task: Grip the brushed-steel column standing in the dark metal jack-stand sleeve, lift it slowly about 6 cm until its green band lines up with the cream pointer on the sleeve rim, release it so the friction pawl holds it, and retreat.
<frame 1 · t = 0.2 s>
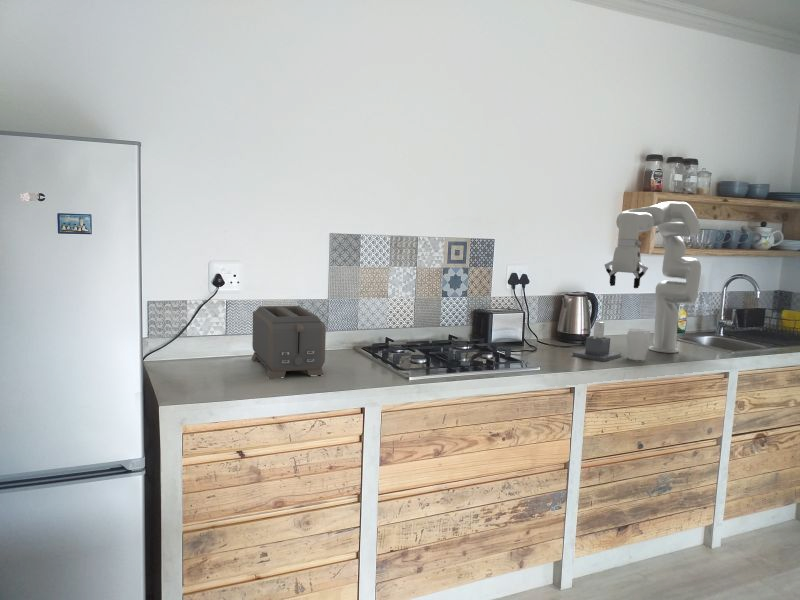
hand: (624, 286, 259), 31 cm above the counter, fingers open, 9 cm apart
stand base: (596, 356, 275), on the counter
toaster: (287, 369, 231), on the counter
column: (598, 337, 274), point 8 cm above the counter, slide at 0.0 cm
cup: (636, 359, 273), on the counter
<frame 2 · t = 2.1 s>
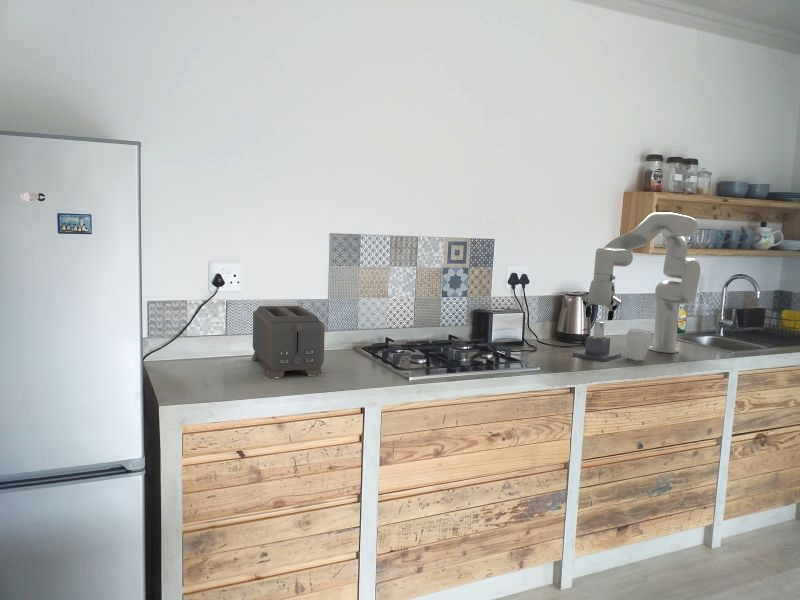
hand: (599, 318, 273), 16 cm above the counter, fingers open, 9 cm apart
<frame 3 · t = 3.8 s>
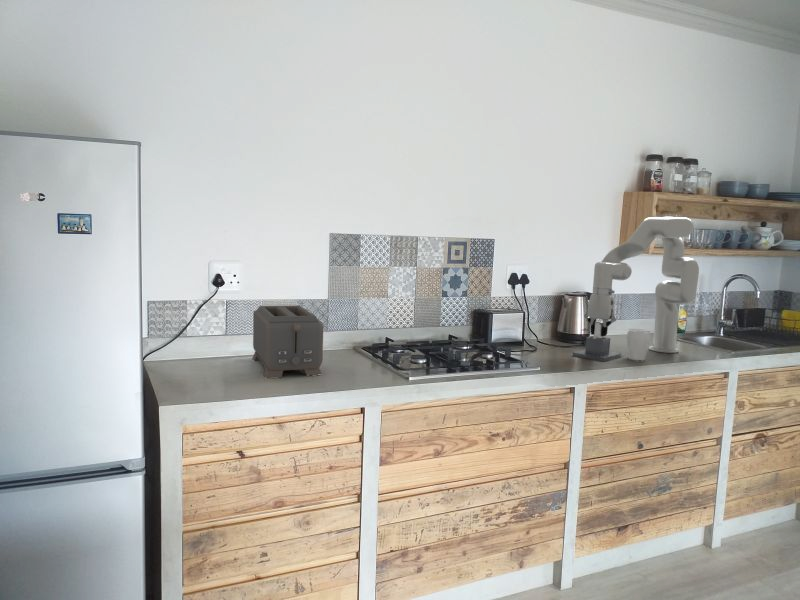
hand: (598, 334, 274), 9 cm above the counter, fingers closed on column, 4 cm apart
column: (598, 337, 274), point 8 cm above the counter, slide at 0.0 cm, touching gripper
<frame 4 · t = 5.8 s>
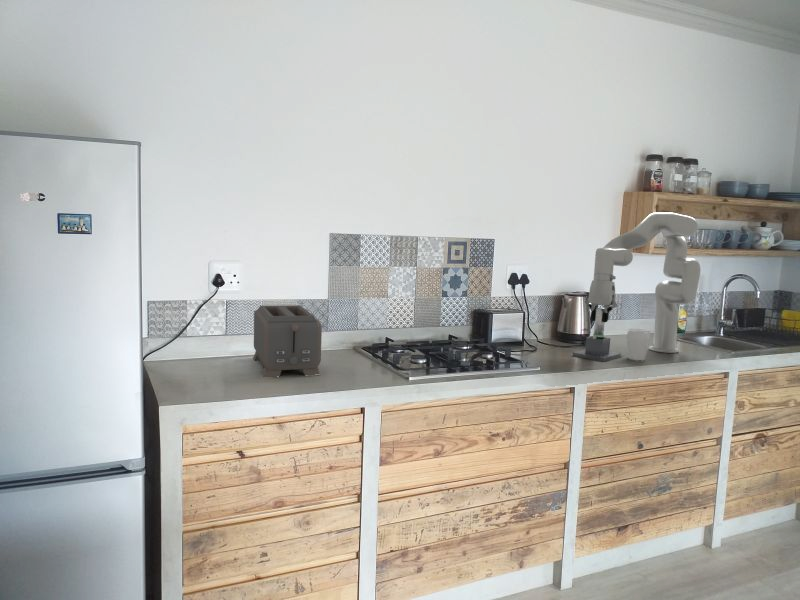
hand: (599, 320, 273), 15 cm above the counter, fingers closed on column, 4 cm apart
column: (599, 323, 273), point 14 cm above the counter, slide at 5.9 cm, touching gripper
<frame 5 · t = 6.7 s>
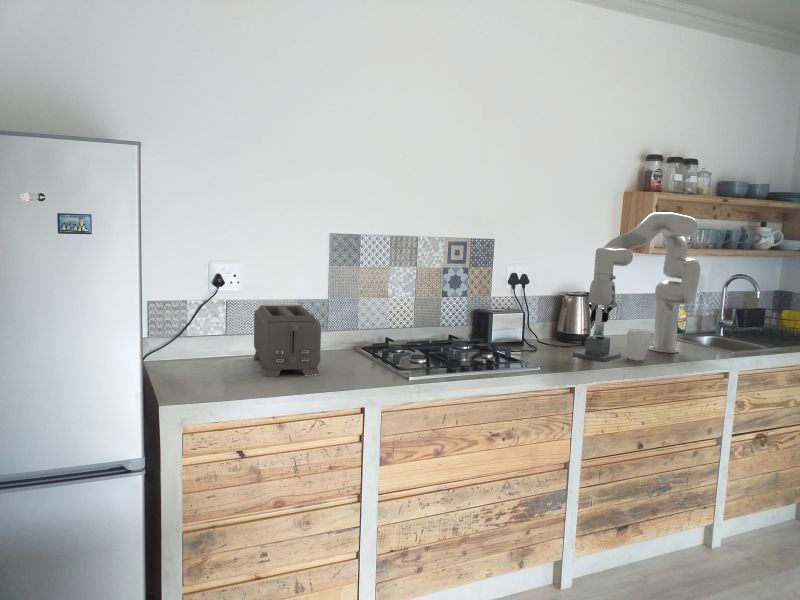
hand: (599, 320, 273), 15 cm above the counter, fingers closed on column, 4 cm apart
column: (599, 323, 273), point 14 cm above the counter, slide at 5.9 cm, touching gripper
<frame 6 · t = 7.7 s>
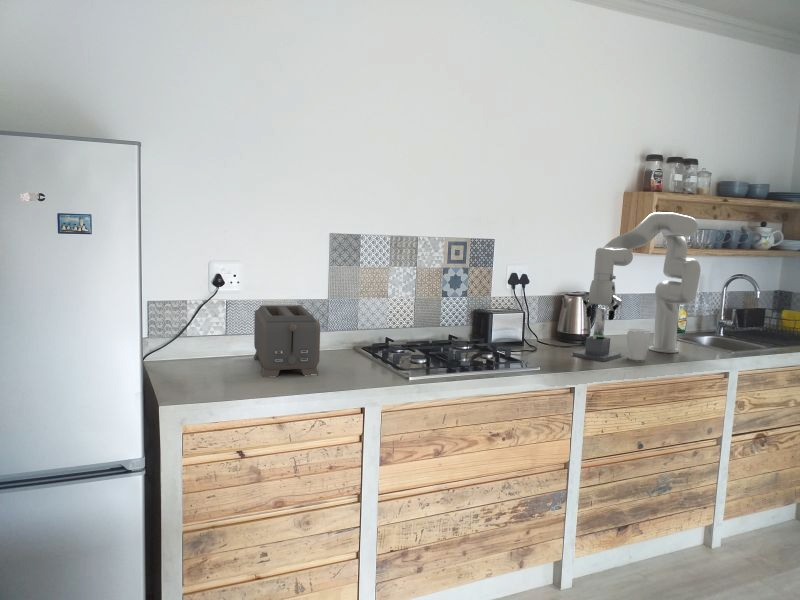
hand: (599, 318, 273), 16 cm above the counter, fingers open, 9 cm apart
column: (599, 323, 273), point 14 cm above the counter, slide at 5.9 cm
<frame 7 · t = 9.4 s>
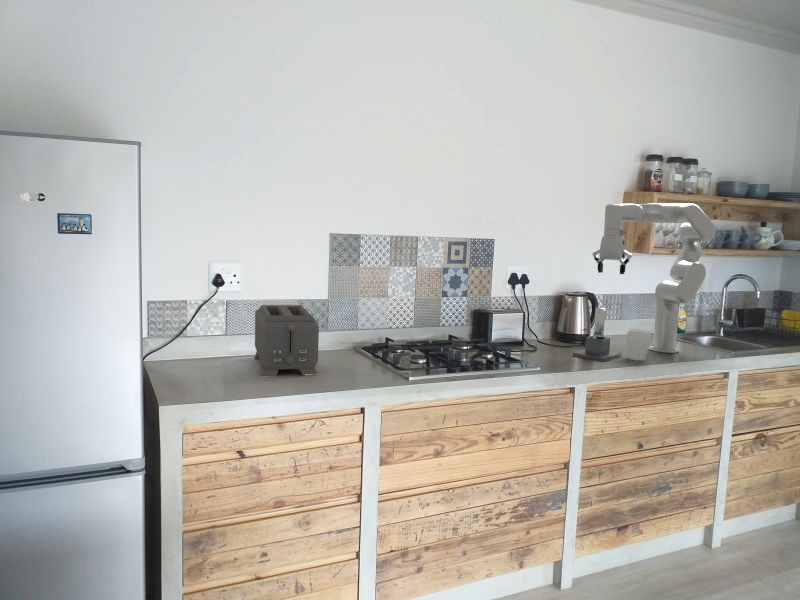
hand: (611, 273, 281), 35 cm above the counter, fingers open, 9 cm apart
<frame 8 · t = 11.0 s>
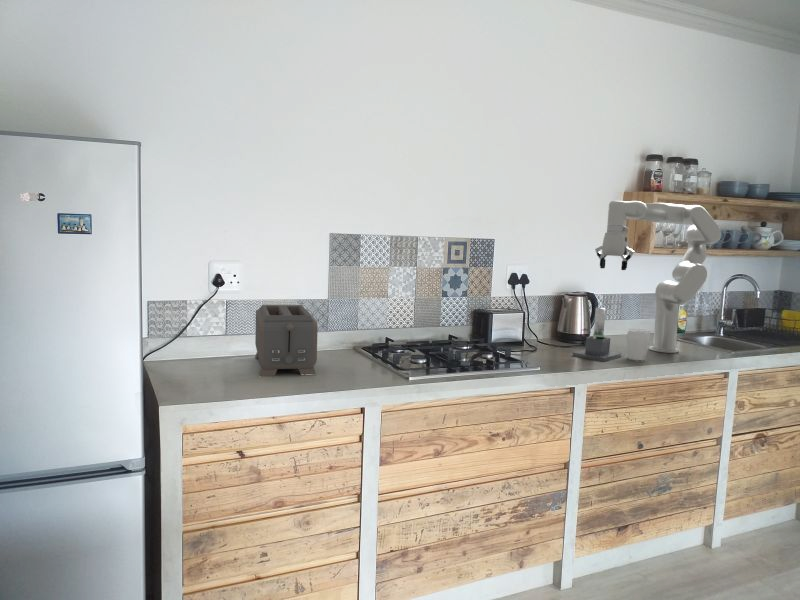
hand: (612, 269, 284), 36 cm above the counter, fingers open, 9 cm apart
at the end: column slide at 5.9 cm; the gripper is holding nothing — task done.
